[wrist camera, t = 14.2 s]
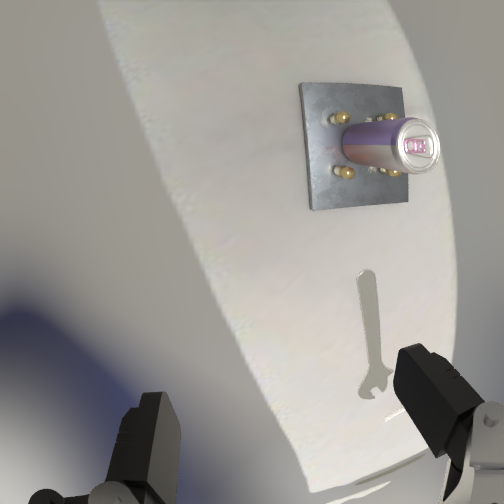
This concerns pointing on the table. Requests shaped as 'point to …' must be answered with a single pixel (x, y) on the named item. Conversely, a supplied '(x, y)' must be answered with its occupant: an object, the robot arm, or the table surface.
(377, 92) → the chassis plate
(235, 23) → the table surface
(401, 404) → the white plastic blade
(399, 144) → the beverage can
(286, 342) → the table surface
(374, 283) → the wrench
